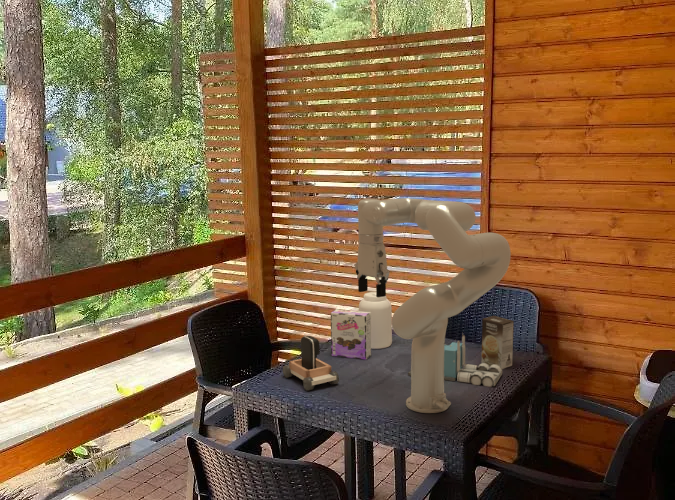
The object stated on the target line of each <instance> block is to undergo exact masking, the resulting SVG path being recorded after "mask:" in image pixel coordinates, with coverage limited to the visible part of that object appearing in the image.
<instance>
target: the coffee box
mask: <svg viewBox="0 0 675 500" xmlns="http://www.w3.org/2000/svg"><path fill="white" fill-rule="evenodd" d="M481 325H482V326H481V363H480V364H482V363H486V364H487V365H489V367H490V366H491V365H493V364H494V365H498V366H499V367H500V368H501V370H504V369H507V368H509V367H512V366H513V355H514V353H513V350H514V349H513V348H514V346H513V345H514V326H515V325H514V320H511V319H508V318H504V317H500V316H498V315H497V316H496V315H492V316H487V317H484V318H482V324H481Z"/></svg>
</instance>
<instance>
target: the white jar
mask: <svg viewBox="0 0 675 500" xmlns="http://www.w3.org/2000/svg"><path fill="white" fill-rule="evenodd" d="M391 303H392V302H391V301H390V300H389V299H388V298H387V295H386V296H384V297H377V296H376V291H370V292H366V293H364V294H363V299H361V300H360V301H359V304H358V311H360V312H371V350H373V349H374V350H376V349H377V350H378V349H379V350H380V349H385V348H388V347H390V346H391V345H392V343H393V334H392V333H393V332H392V331H393V327H392V317H393V314H392V312H393V310H392V304H391Z"/></svg>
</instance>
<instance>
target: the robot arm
mask: <svg viewBox="0 0 675 500" xmlns="http://www.w3.org/2000/svg"><path fill="white" fill-rule="evenodd" d="M357 219H358V220H357V222H358V249H357V262H355V263H354V268H355V274H356V276H357V277H356V278H357V279H356V280H358V281H357V283H358V284H357V287H358V289H357V290H358V292H359V293H362V292H368V287H369V286H368V284H369V283H368V278H367V277H370V278H374V279H375V281H376V283H377V284H375V287H376V289H375V290H376V291H375V292H376V296H377V297H384V296H387V291H386V290H387V289H386V288H387V285H386V284H387V283H388V280H389V277H390V273H391V272H390V270H389V268H388V261H387V252H386V251H387V250H386V246H385V244H384V226H393V225H396V224H397V225H398V224H405V223H406V224H416V226H417V227H418V228H419V229H421V230H423V231H428V232H429V233H430V235H431V237H432V238H433V239H434V241H436V243H437V244H438V246H439V247H440V248H441V249H442V250H443V252H444V253H445V254H446V256H447V257H448V258H449V259H450V260H451V261H452V263H453V264H454V265H456V266H457V267H459V268H460V269H463V270H461V271H460V272H459V273H458V274H456V275H455V276H454V277H453V278H450V279H449V280H447V281H445V282H441V283H437V284H434V285H430V286H426V287H424V288H422V289H420V290H419V291H417V292H415V293H414V294H413V295H412V296H410V297H409V298H408V299H407V300H406V301H404V302H403V303H402V304H401V305H399V307H397V308H396V310H394V313H393V314H392V331H393V332H394V334H396V336H398V337H399V338H402V339H405V340H412V341H411V349H410V351H411V352H410V367H411V368H410V370H411V376H410V377H411V378H410V380H411V381H410V386H411V387H410V389H411V390H410V396H409V397H408V398H406V400H405V406H406V407H407V408H408V409H409V410H410V411H414V412H416V413H422V414H438V413H441V412H445V411H447V410H448V409H449V408H450V406H451V404H452V402H451V401H449V399H448V398H447V393H445V380H444V344H446V341H445V340H446V333H447V328H448V327H447V326H448V323H449V318H451V317H454V316H456V315H457V316H458V315H459V314H461V312H463V311H464V310H465V309H466V308H468V307H469V306H471V305H473V303H475V302H476V301H477V300H479V299H480V298H481V297H482V296H483V295H485V294H486V293H488V292H489V291H490V290H491V289H493V288H494V287H495V286H496V285H497V284H498V283H499V282H500V281H501V280H502V279H503V278H504V276H505V274H506V273H507V272H508V269H509V266H510V263H511V255H512V254H511V253H512V252H511V247H510V244H509V242H508V240H507V238H506V237H504V236H503V235H501V234H499V233H496V232H482V233H481V232H480V233H475V234H470V235H469V234H468V233H467V231H469V230H470V229H472V228H473V226H474V224H475V222H476V212H475V210H474V208H473V207H472V206H471V205H470V204H467V203H466V202H463V201H453V200H452V201H450V200H434V199H433V200H431V199H422V198H408V197H406V198H404V197H402V198H390V199H389V198H388V199H382V200H380V199H378V198H364V199H361V200H359V201H358V204H357Z"/></svg>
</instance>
